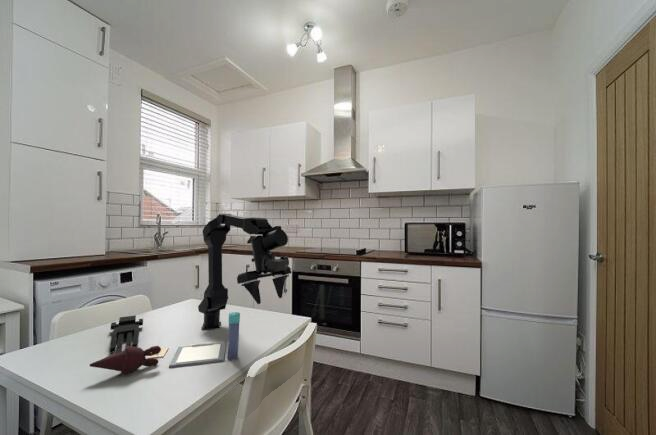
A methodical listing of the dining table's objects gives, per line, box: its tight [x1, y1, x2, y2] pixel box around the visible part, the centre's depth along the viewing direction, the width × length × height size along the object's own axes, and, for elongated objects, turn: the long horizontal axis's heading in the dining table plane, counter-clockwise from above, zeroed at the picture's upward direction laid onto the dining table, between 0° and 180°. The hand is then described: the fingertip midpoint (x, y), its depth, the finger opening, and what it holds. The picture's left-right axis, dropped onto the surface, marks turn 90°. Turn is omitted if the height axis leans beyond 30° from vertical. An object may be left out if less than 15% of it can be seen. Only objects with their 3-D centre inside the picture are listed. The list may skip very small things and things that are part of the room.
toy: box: [109, 315, 144, 354], centre depth 89 cm, size 10×5×30 cm
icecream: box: [89, 345, 162, 377], centre depth 71 cm, size 7×7×15 cm
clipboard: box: [168, 341, 227, 368], centre depth 82 cm, size 12×14×1 cm
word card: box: [147, 347, 169, 359], centre depth 82 cm, size 6×4×1 cm, turn 18°
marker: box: [226, 311, 241, 361], centre depth 81 cm, size 3×3×13 cm
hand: (270, 300), depth 87 cm, fingers open, 9 cm apart
